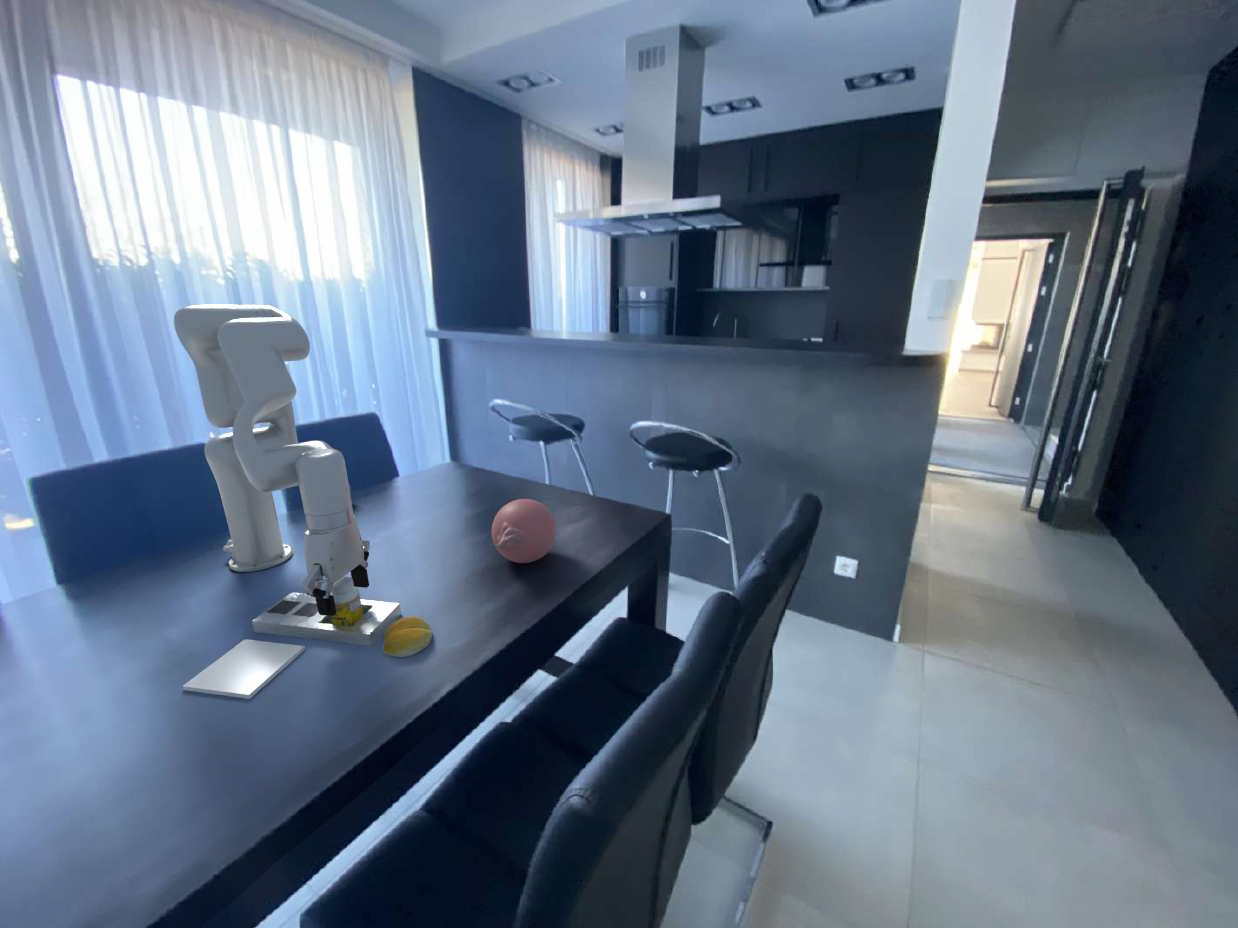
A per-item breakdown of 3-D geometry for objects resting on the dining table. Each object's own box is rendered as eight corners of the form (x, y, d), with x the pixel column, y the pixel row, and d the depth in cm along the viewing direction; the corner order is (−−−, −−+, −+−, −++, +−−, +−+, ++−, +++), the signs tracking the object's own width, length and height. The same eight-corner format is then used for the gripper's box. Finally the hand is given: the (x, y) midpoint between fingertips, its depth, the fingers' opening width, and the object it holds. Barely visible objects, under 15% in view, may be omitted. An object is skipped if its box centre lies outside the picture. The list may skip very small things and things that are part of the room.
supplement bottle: (370, 619, 100) (363, 577, 97) (349, 636, 96) (341, 591, 93) (348, 614, 102) (341, 572, 99) (326, 630, 97) (318, 586, 94)
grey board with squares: (254, 632, 96) (251, 620, 95) (293, 602, 106) (291, 591, 105) (371, 645, 93) (369, 633, 92) (401, 613, 102) (399, 602, 102)
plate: (183, 689, 82) (182, 685, 82) (245, 642, 93) (244, 639, 93) (249, 698, 80) (248, 694, 80) (304, 649, 92) (304, 646, 91)
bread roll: (383, 664, 89) (380, 645, 87) (386, 633, 97) (383, 615, 95) (432, 653, 91) (430, 634, 90) (432, 625, 99) (429, 607, 98)
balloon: (469, 577, 116) (463, 515, 111) (514, 540, 134) (511, 486, 129) (528, 590, 111) (525, 526, 107) (567, 550, 129) (566, 494, 125)
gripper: (342, 498, 100) (356, 575, 105) (274, 536, 84) (293, 625, 89) (377, 501, 99) (389, 578, 104) (315, 539, 83) (332, 628, 88)
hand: (345, 599), depth 97 cm, fingers open, 9 cm apart
